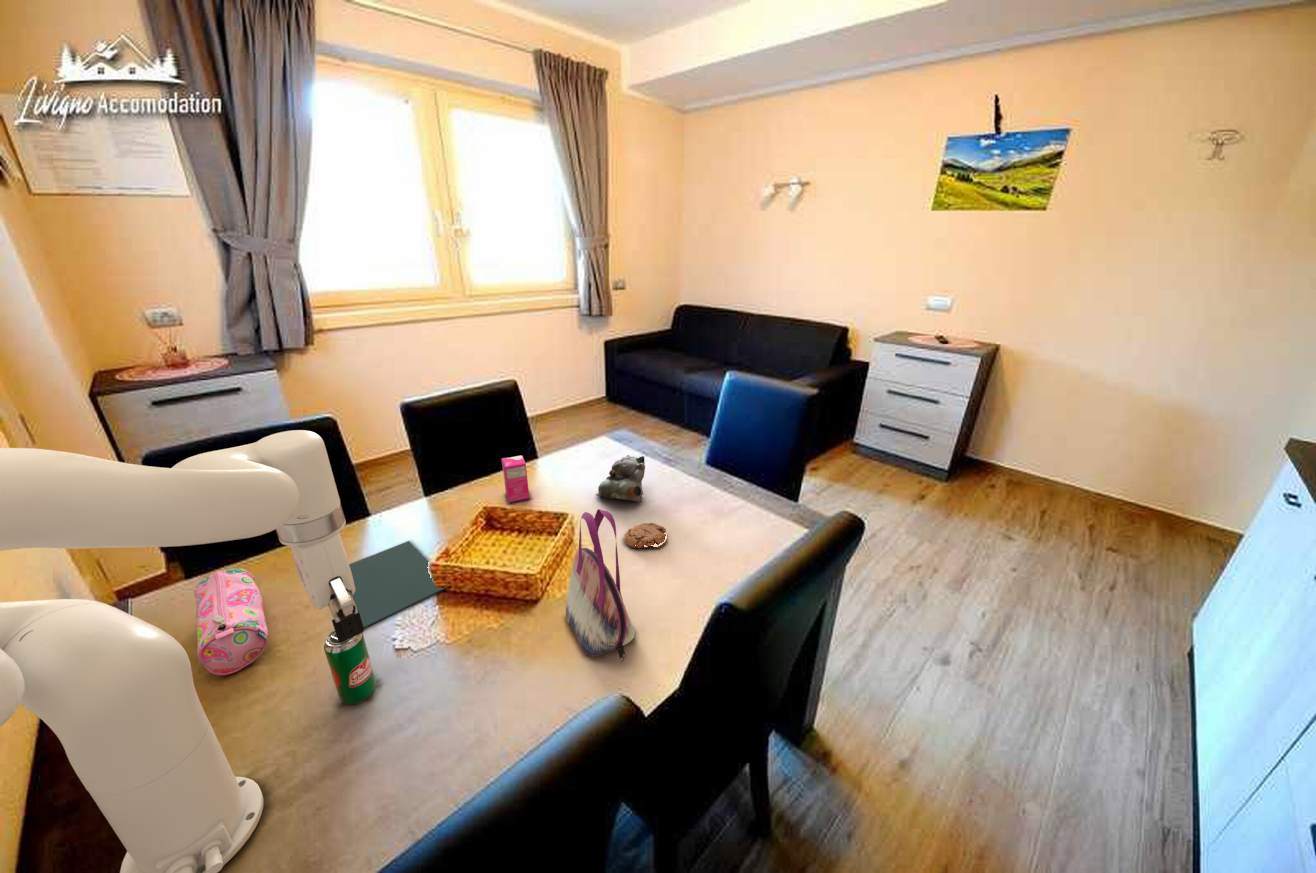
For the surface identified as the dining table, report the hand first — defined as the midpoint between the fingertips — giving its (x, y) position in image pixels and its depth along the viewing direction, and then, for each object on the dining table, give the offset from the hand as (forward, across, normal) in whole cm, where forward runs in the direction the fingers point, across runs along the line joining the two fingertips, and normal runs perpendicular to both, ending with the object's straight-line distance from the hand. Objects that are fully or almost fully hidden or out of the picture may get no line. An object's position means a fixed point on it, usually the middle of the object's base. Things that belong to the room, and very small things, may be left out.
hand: (340, 618), depth 71 cm
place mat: (+15, -25, +12) cm, 32 cm away
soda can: (+15, 0, -1) cm, 15 cm away
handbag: (+16, +17, +35) cm, 42 cm away
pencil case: (+15, -28, -12) cm, 34 cm away
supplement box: (+16, -37, +51) cm, 65 cm away
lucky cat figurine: (+16, -17, +73) cm, 76 cm away
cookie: (+16, +3, +62) cm, 64 cm away
